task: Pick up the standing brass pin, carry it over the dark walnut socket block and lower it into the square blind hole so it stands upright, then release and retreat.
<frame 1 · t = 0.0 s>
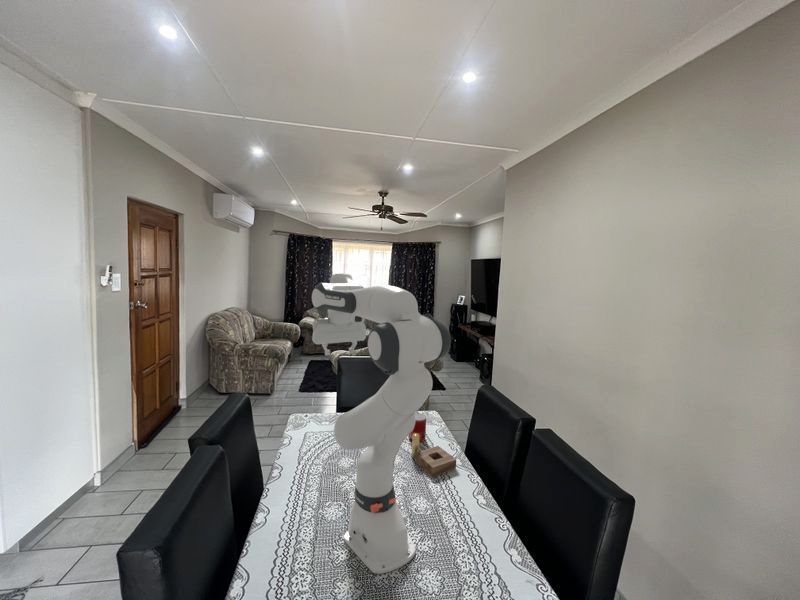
hand: (339, 353, 123), 48 cm above the table, fingers open, 8 cm apart
canned food: (417, 438, 158), on the table
socket block: (435, 465, 137), on the table
pin: (415, 457, 142), on the table
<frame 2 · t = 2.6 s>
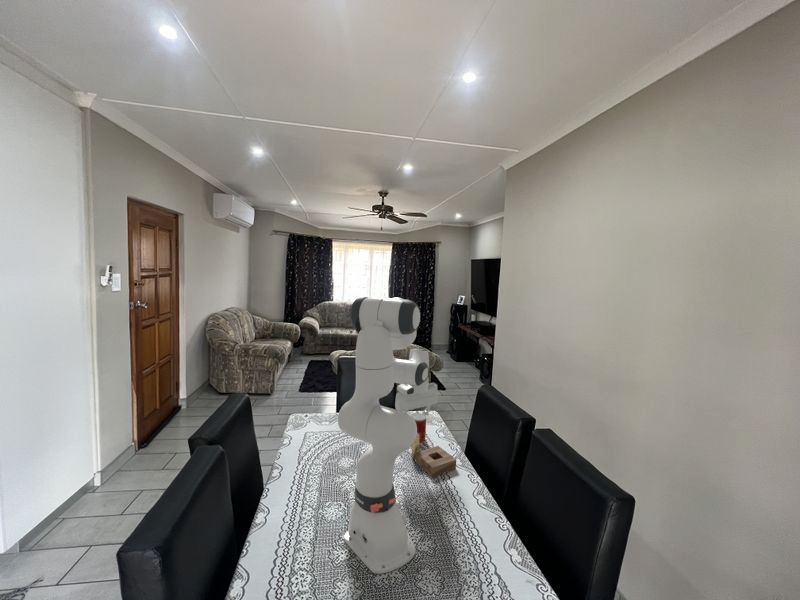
hand: (416, 417, 141), 18 cm above the table, fingers open, 8 cm apart
nothing on the table moved.
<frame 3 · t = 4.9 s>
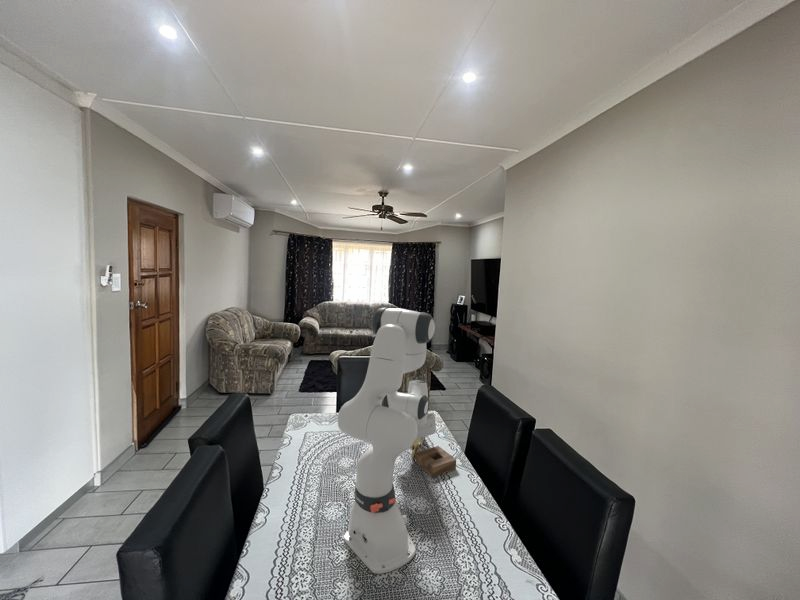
hand: (415, 448, 142), 4 cm above the table, fingers closed on pin, 3 cm apart
pin: (415, 457, 142), on the table, touching gripper
everything else where it was.
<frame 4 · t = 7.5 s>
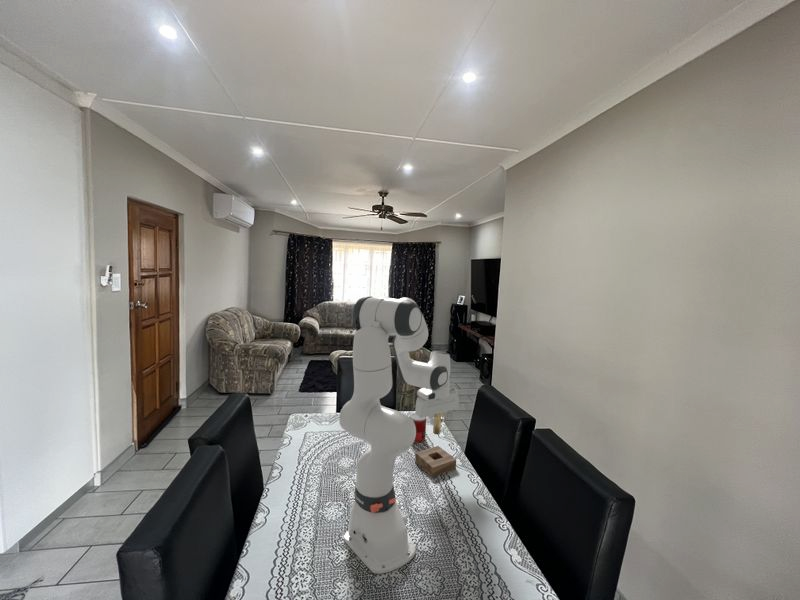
hand: (437, 422, 135), 18 cm above the table, fingers closed on pin, 3 cm apart
pin: (436, 432, 136), point 14 cm above the table, touching gripper
everything else where it was.
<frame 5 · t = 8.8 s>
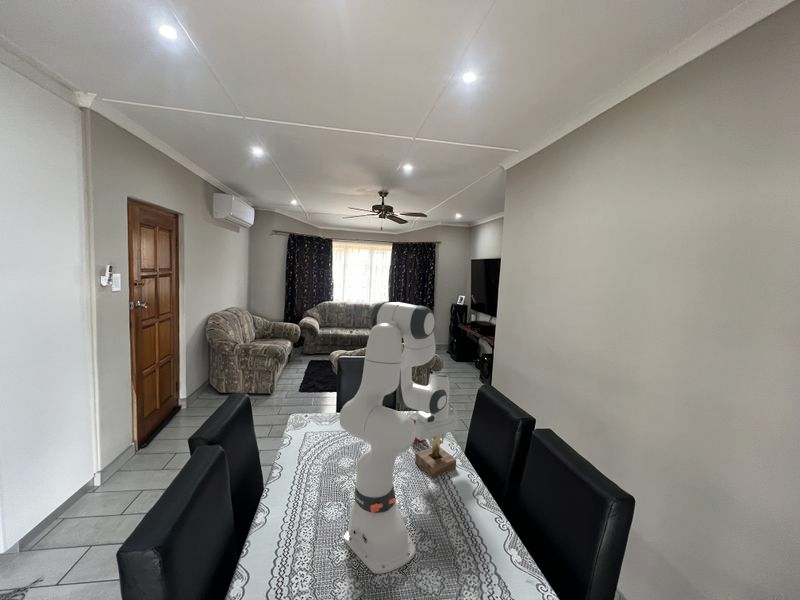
hand: (436, 444, 136), 9 cm above the table, fingers closed on pin, 3 cm apart
pin: (435, 454, 136), point 5 cm above the table, touching gripper
everything else where it was.
when the fingers open (6 cm above the table, at t = 10.1 s): pin stays where it is, resting on socket block.
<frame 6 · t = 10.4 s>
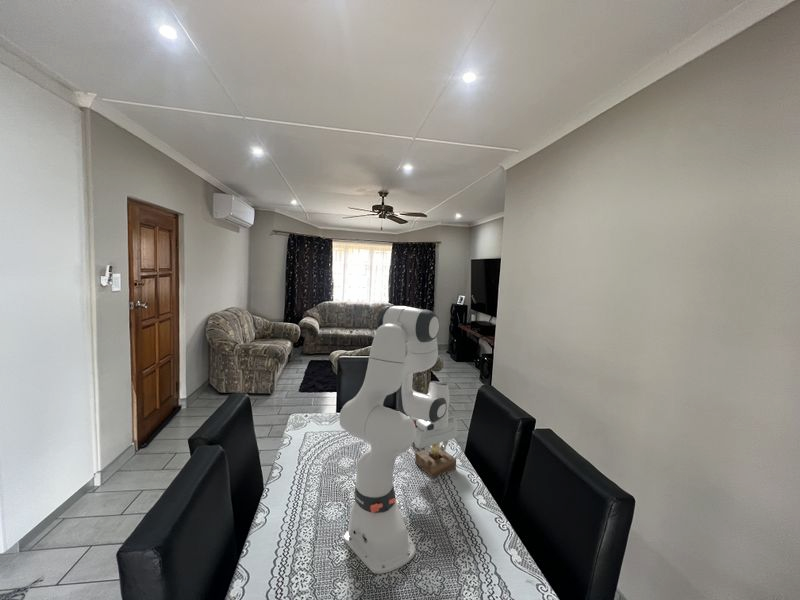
hand: (435, 452, 136), 6 cm above the table, fingers open, 6 cm apart
pin: (435, 462, 136), point 1 cm above the table, touching socket block
everything else where it was.
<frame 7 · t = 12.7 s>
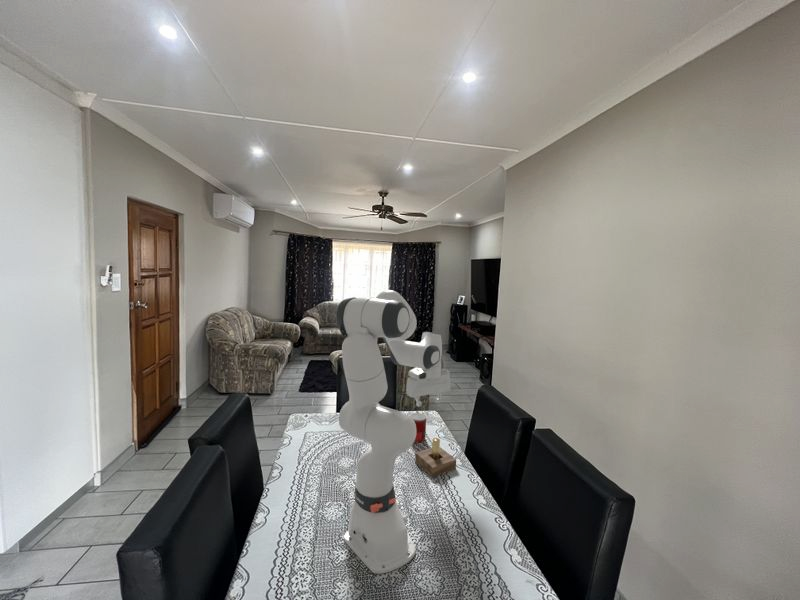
hand: (428, 404, 135), 26 cm above the table, fingers open, 8 cm apart
nothing on the table moved.
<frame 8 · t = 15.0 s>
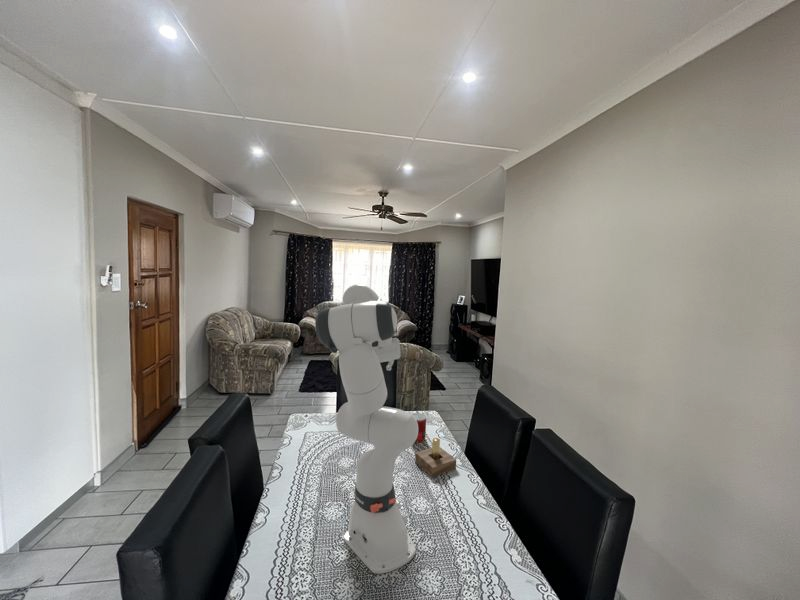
hand: (380, 372, 139), 37 cm above the table, fingers open, 8 cm apart
nothing on the table moved.
at the end: pin 0.1 cm off-centre on the socket block, point 1.0 cm above the socket block's base; pin tilted 0°; the gripper is holding nothing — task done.
